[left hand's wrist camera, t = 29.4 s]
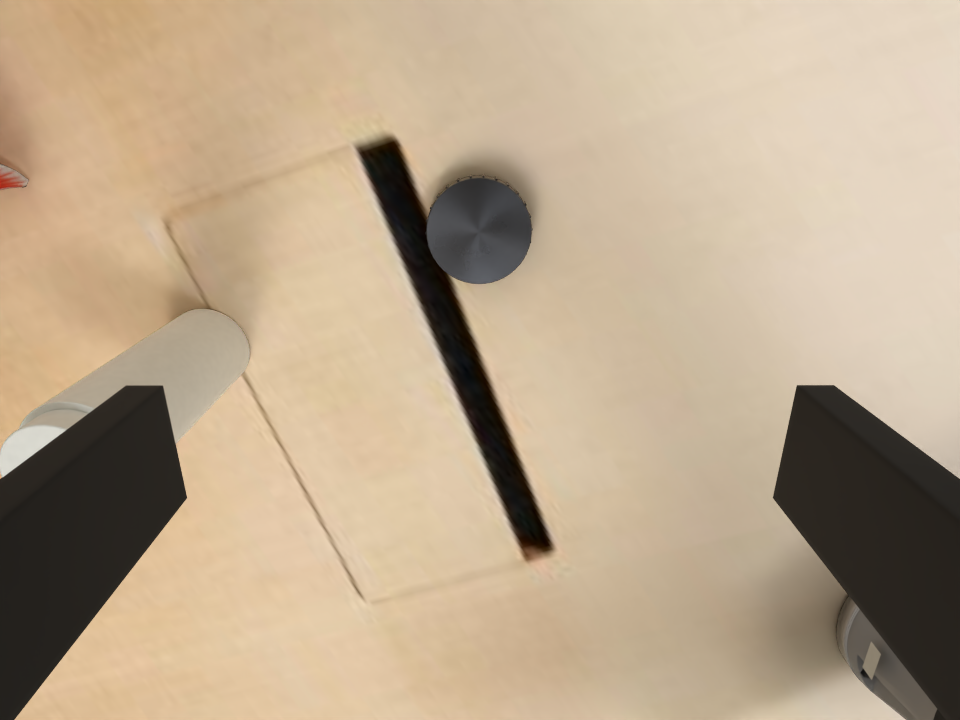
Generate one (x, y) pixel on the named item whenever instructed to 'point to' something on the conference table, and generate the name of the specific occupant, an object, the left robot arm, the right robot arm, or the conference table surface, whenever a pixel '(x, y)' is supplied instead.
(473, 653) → the conference table surface
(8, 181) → the fish
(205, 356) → the jar
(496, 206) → the lid
